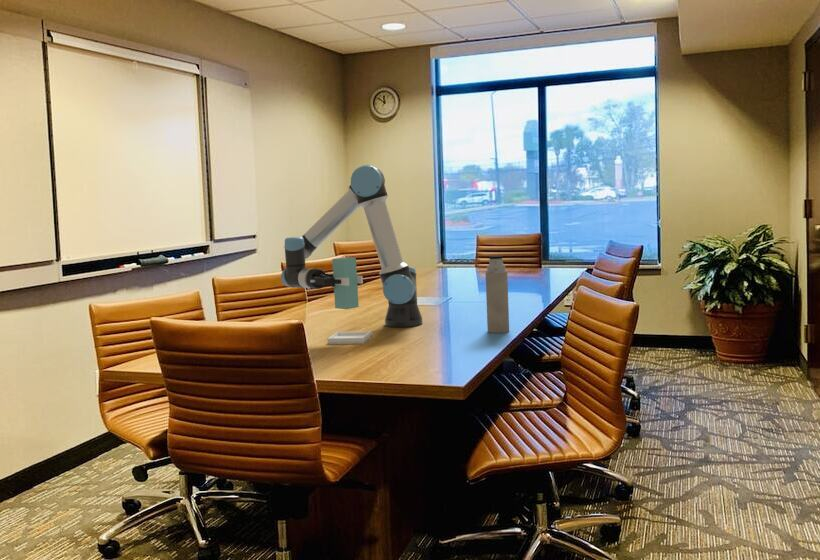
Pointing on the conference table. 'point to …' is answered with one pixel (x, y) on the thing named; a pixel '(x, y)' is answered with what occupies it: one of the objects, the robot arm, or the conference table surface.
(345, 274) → the teal post
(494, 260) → the thermos bottle
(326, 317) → the conference table surface
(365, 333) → the tray
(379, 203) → the robot arm
